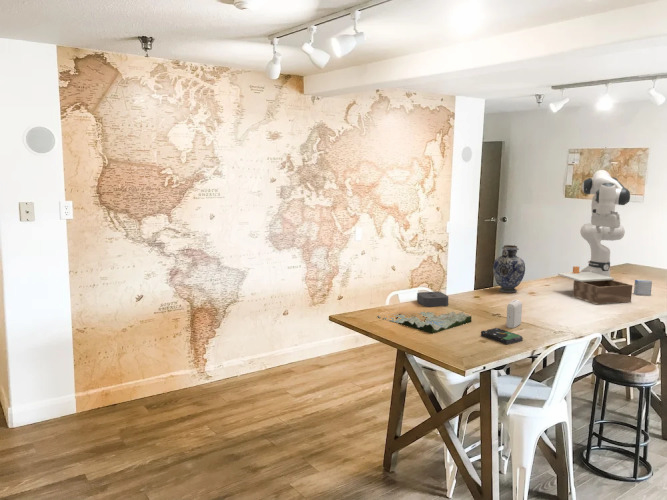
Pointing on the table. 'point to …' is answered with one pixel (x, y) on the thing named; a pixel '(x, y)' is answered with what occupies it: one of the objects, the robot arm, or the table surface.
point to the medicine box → (642, 287)
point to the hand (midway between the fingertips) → (604, 234)
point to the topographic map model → (438, 321)
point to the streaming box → (432, 299)
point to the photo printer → (514, 314)
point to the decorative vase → (509, 269)
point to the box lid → (584, 276)
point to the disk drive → (501, 336)
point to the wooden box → (603, 291)
